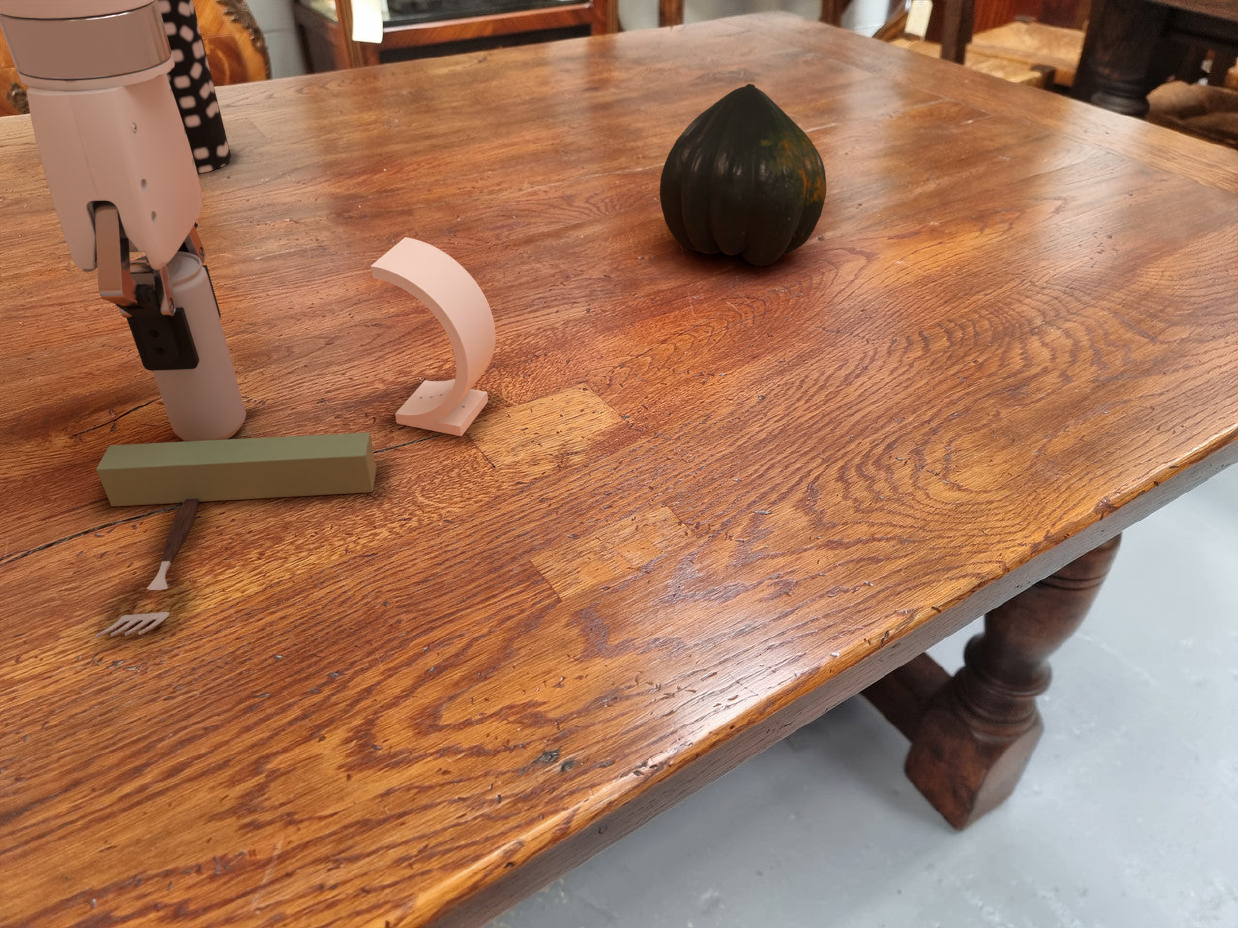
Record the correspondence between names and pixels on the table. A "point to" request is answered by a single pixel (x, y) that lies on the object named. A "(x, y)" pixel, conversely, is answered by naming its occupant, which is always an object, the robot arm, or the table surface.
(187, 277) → the beverage can
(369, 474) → the rail
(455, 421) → the headphone stand
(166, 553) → the fork
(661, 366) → the table surface
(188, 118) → the spotted tube
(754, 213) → the squash
